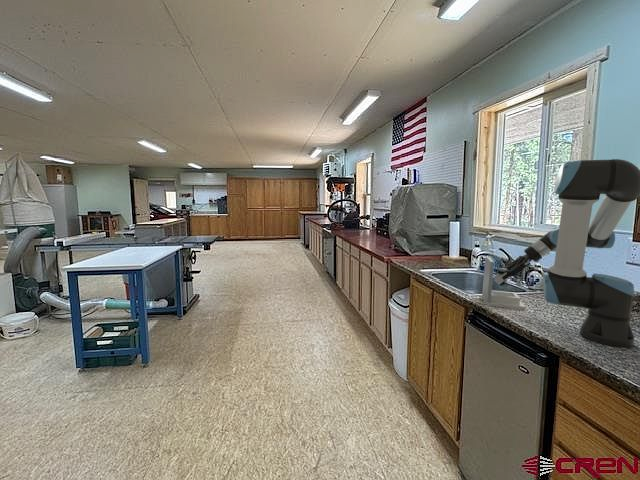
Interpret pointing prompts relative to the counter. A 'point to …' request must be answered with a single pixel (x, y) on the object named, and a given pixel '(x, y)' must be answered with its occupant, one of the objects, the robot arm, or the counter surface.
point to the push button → (504, 284)
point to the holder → (497, 296)
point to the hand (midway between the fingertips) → (495, 281)
